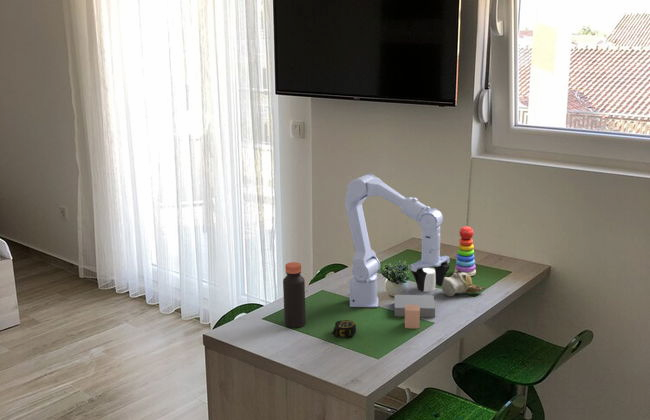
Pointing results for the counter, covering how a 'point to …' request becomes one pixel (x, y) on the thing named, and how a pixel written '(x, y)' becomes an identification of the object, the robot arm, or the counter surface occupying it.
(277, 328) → the counter surface
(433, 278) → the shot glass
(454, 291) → the ceramic sculpture
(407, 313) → the terracotta block
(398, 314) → the plinth
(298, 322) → the bottle
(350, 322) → the tape measure
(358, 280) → the robot arm
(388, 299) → the counter surface
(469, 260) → the stacking toy
